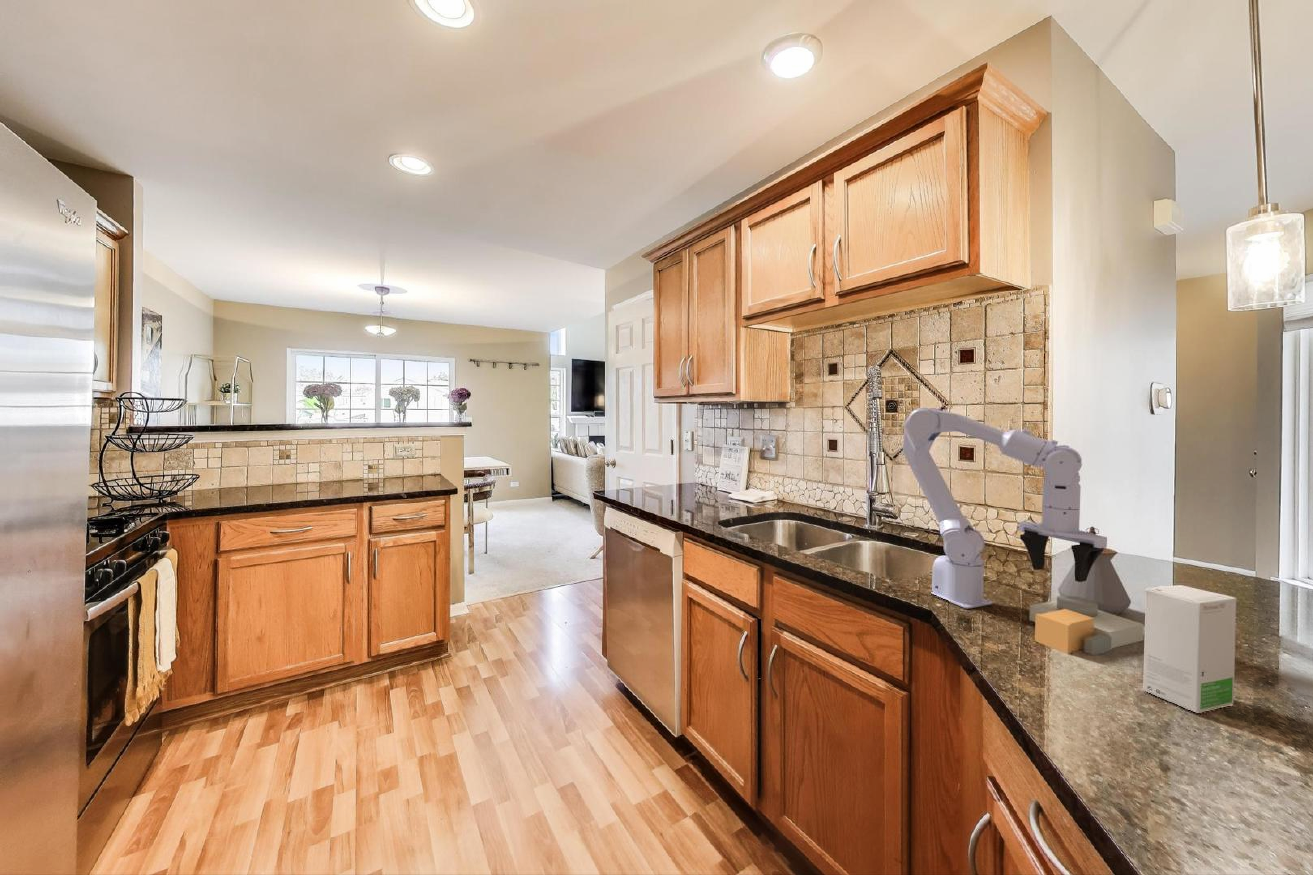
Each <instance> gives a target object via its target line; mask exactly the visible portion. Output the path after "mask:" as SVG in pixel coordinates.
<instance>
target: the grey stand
mask: <svg viewBox="0 0 1313 875" xmlns="http://www.w3.org/2000/svg"><path fill="white" fill-rule="evenodd" d="M1062 609H1068V610H1071V611H1074V612H1077V613H1080V614H1083V615H1086V616H1089V617H1092V618H1094V636H1091V637H1086V638H1085V643H1084V648H1083V650H1084V651H1083V652H1084V653H1086V654H1089V655H1091V656H1096V655H1098V654H1102V653H1106V652H1111V651H1112V649H1114V648H1118V647H1122V646H1126V645H1130V644H1133V643H1138V642H1142V641H1144V623H1141V622H1137V621H1134V620H1132V619H1128V618H1124V617H1122V616H1119V615H1113V614H1109V613H1106V612H1103V611H1100V610H1098V604H1097V603H1096V602H1094V601H1092V600H1089V599H1085V598H1082V597H1077V596H1069V595H1060V594H1059V595H1057V596H1056V599H1055V600H1051V601H1045V602H1041V603H1036V604H1030V605H1029V621H1031V622H1034V623H1035V617H1036V614H1044V613H1049V612H1053V611H1058V610H1062Z"/></svg>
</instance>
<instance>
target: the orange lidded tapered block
mask: <svg viewBox="0 0 1313 875" xmlns="http://www.w3.org/2000/svg"><path fill="white" fill-rule="evenodd" d="M1034 624H1035V626H1034V628H1035V629H1034V632H1035V633H1034V641H1035V642H1037V643H1039V644H1042V645H1045V646H1047V647H1049V648H1052V649H1054V650H1056V651H1058V652H1062V653H1065V654H1067V655H1068V654H1069V655H1070V654H1071V652H1075V651H1078V650H1081V649H1084V643H1085V638H1086V637H1091V636H1094V618H1092V617H1089V616H1086V615H1083V614H1080V613H1077V612H1074V611H1071V610H1068V609H1062V610H1058V611H1053V612H1049V613H1044V614H1036V617H1035V622H1034Z"/></svg>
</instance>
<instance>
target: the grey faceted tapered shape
mask: <svg viewBox="0 0 1313 875" xmlns="http://www.w3.org/2000/svg"><path fill="white" fill-rule="evenodd" d="M1088 530H1089V531H1088ZM1096 530H1097V531H1098V532H1096ZM1099 530H1100V529H1098V528H1095V527H1094V526H1090V527H1087V528H1086V530H1085V532H1088V533H1091V534H1095V535H1098V534H1099V533H1100V531H1099ZM1117 554H1118V551H1116V550H1114V549H1111V548H1107V547H1106V548H1104V549H1103V551H1102V552H1101V554H1100V555H1099V556H1098V557H1097V559H1096V560H1095V562H1094V563H1093V565H1092V567H1091V569H1090V571H1089V574H1088V577H1087V580H1086V581H1083V582H1077V581H1075V562H1073V564H1072V566H1071V568H1070V569H1069V571H1068V572H1067V574H1066V575H1065V577H1064V578H1063V580H1062V582H1061V583H1060V585H1059V586H1058V588H1057V591H1058V593H1059V596H1060V595H1069V596H1077V597H1082V598H1085V599H1089V600H1092V601H1094V602H1096V603H1097V604H1098V610H1100V611H1103V612H1106V613H1109V614H1113V615H1116V616H1118V613H1122V612H1124V611H1126V610H1127V609H1128V608H1129V607H1130V606H1131V602H1132V601H1131V599H1130V597H1129V594H1128V593H1127V591H1126V589H1125V587H1124V585H1123V582H1122V581H1121V579H1120V576H1119V575H1118V573H1117V570H1116V569H1115V567H1114V565H1113V563H1112V559H1113V558H1114V557H1115V556H1116V555H1117Z"/></svg>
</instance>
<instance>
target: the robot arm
mask: <svg viewBox="0 0 1313 875" xmlns="http://www.w3.org/2000/svg"><path fill="white" fill-rule="evenodd" d="M903 429H904V434H903V443H902V453H903V455H904V457H905V460H906V462H907V464H908V465H909V467H910V469H911V471H912V473H913V475H914V477H915V479H916V481H917V482H918V483H917V484H918V485H919V487H920V489H921V490H922V492H923V495H924V497H925V498H926V500H927V502H928V504H929V506H930V508H931V510H932V513H933V514H934V516H935V517H936V519H937V522H938V524H939V532H940V536H941V538H942V540H943V551H944V553H945V555H940V556H938V557H937V558H936V559H935V560H934V562H933V564H932V568H931V569H932V571H931V572H932V573H931V575H932V576H931V577H932V578H931V582H932V583H931V591H933V592H931V591H930V592H931V593H932V594H934V595H937V596H939V597H941V598H943V599H946V600H948V601H949V602H948V601H947V602H948V603H951V604H953V605H956V606H958V607H961V608H964V609H973V608H974V609H975V608H979V607H985V606H989V605H993V604H994V603H993V601H991V600H988V599H986V598H984V563H985V562H984V560H983V559H982V557H981V556H980V553H981V552H983V551H984V548H985V544H986V543H985V542H986V541H985V538H984V537H983V535H982V534H981V533H980V532H979V531H978V530H976V529H975V528H974V527H973V526H972V524H971V522H970V521H969V520H968V519H967V517H966V516H965V515H964V514H963V513H962V511H961V509H960V507H959V505H958V503H957V502H956V499H955V498H954V496H953V494H952V493H951V491H950V489H949V488H950V487H949V486H948V485H947V483H946V481H945V479H944V477H943V475H942V473H941V471H940V470H939V467H938V466H937V464H936V462H935V460H934V458H933V457H932V455H931V453H930V450H931V449H932V446H933V444H934V442H935V440H936V438H937V437H938V436H940V434H942V433H950V432H958V433H961V434H964V435H967V436H970V437H973V438H976V439H978V440H981V441H984V442H987V443H989V444H992V445H995V446H998V448H999V450H1000V453H1001V454H1002V455H1004V456H1007V457H1009V458H1012V459H1015V460H1017V461H1019V462H1022V463H1025V464H1026V465H1029V466H1033V467H1035V468H1039V467H1042V468H1043V470H1044V482H1042V500H1041V501H1042V503H1041V505H1042V506H1041V508H1042V509H1041V523H1038V522H1031V521H1019V522H1018V532H1023V534H1020V535H1019V536H1020V537H1019V538H1020V540H1021V541H1022V542H1023V545H1024V546H1025V548H1026V550H1027V553H1028V555H1029V558H1030V560H1031V561H1030V562H1031V566H1032V569H1033V570H1034V571H1039V570H1044V567H1045V555H1046V549H1047V548H1046V547H1047V544H1048V540H1049V538H1053V539H1059V540H1064V541H1068V542H1073V543H1078V544H1073V545H1071V548H1070V549H1071V550H1072V554H1073V560H1074V563H1075V581H1077V582H1083V581H1086V580H1087V577H1088V574H1089V571H1090V569H1091V567H1092V565H1093V563H1094V562H1095V560H1096V559H1097V557H1098V556H1099V555H1100V554H1101V552H1102V551H1103V549H1104V548H1107V547H1108V537H1107V536H1103V535H1098V534H1091V533H1088V532H1089V531H1084V530H1080V520H1081V519H1080V516H1081V514H1080V512H1081V485H1080V482H1081V475H1080V473H1079V472H1080V470H1081V469H1082V466H1083V463H1082V462H1083V461H1082V455H1081V454H1080V453H1079V451H1077V450H1076V449H1075V448H1072V447H1070V446H1069V445H1063V444H1061V445H1058V442H1059V441H1057V440H1054V439H1052V440H1047V439H1045V438H1043V437H1039V436H1036V435H1033V434H1031V433H1032V432H1031V430H1028V429H1026V428H1023V429H1022V430H1019V429H1012V430H1009V431H1003V430H1001V429H998V428H995V427H994V426H990V425H989V424H985V423H984V422H980V421H978V420H976V419H973V418H970V417H968V416H965V415H963V414H960V413H957V412H956V413H955V412H951V411H947V410H942V409H939V408H935V407H930V408H928V407H919V408H916V409H914V410H912V411H911V412H910V413H909V415H908V417H907V418H906V420H905V421H904V424H903ZM941 598H940V599H941ZM943 599H942V600H943ZM946 600H945V601H946Z"/></svg>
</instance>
